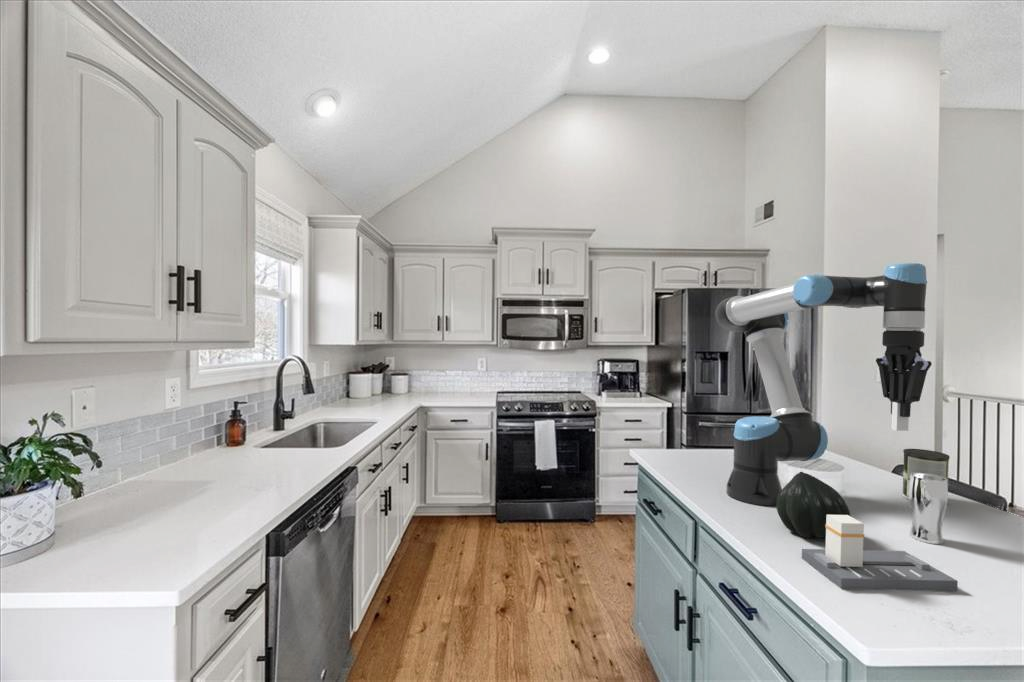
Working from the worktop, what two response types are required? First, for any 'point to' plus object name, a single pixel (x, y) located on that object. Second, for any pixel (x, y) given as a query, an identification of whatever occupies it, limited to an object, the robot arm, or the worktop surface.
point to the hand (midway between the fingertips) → (899, 429)
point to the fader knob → (844, 540)
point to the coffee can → (923, 465)
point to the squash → (808, 505)
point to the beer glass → (927, 506)
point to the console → (882, 572)
